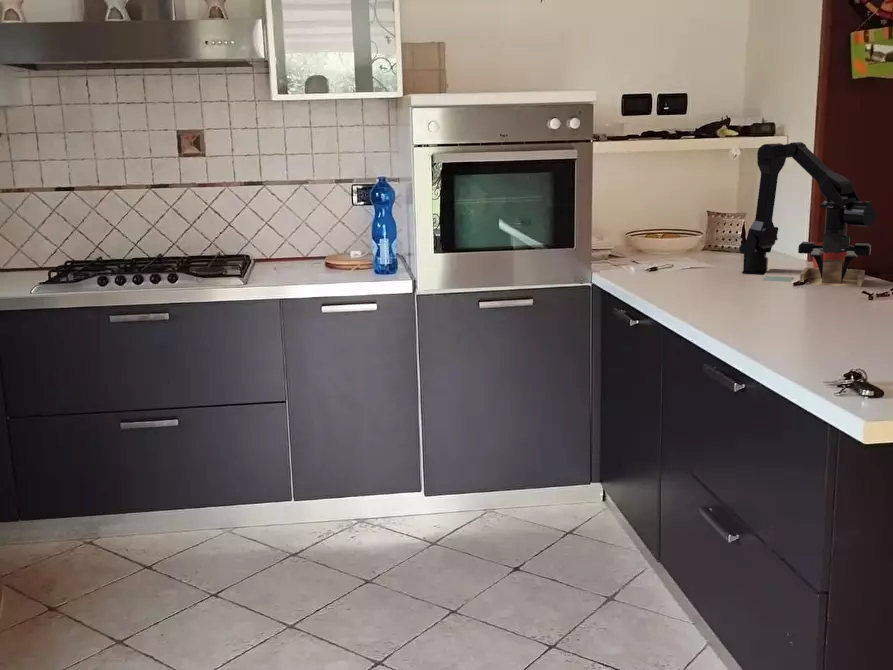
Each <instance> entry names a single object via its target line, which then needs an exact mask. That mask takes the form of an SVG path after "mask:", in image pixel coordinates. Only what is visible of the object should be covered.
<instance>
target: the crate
mask: <svg viewBox="0 0 893 670" xmlns="http://www.w3.org/2000/svg"><path fill="white" fill-rule="evenodd" d="M865 273H866V270H865V269H847V271H846V273H845V276H844V278H843V280H842V283H841V284H835V283H822V278H821V274H820V271H819V268H814V267H805V268H804V269H803V270H802V271H801V273H800V274H799V275H800V276H799V283H800V282H804V280H806V279H810V281H809V283H806V284H805V285H812V286H816V285H817V286H829V287H830V286H834V287H852V288H853V287H854V288H856V287H857V288H862V286H863V284H864V282H865V278H866V277H865V275H866V274H865Z"/></svg>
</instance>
